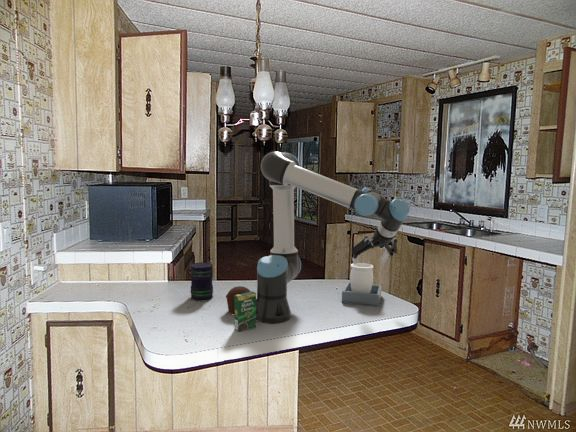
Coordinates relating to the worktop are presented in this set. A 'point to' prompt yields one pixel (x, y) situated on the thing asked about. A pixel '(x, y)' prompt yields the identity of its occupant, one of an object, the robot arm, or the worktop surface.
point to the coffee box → (245, 311)
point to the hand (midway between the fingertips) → (368, 261)
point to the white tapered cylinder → (361, 277)
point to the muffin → (231, 296)
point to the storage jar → (201, 281)
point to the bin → (362, 296)
